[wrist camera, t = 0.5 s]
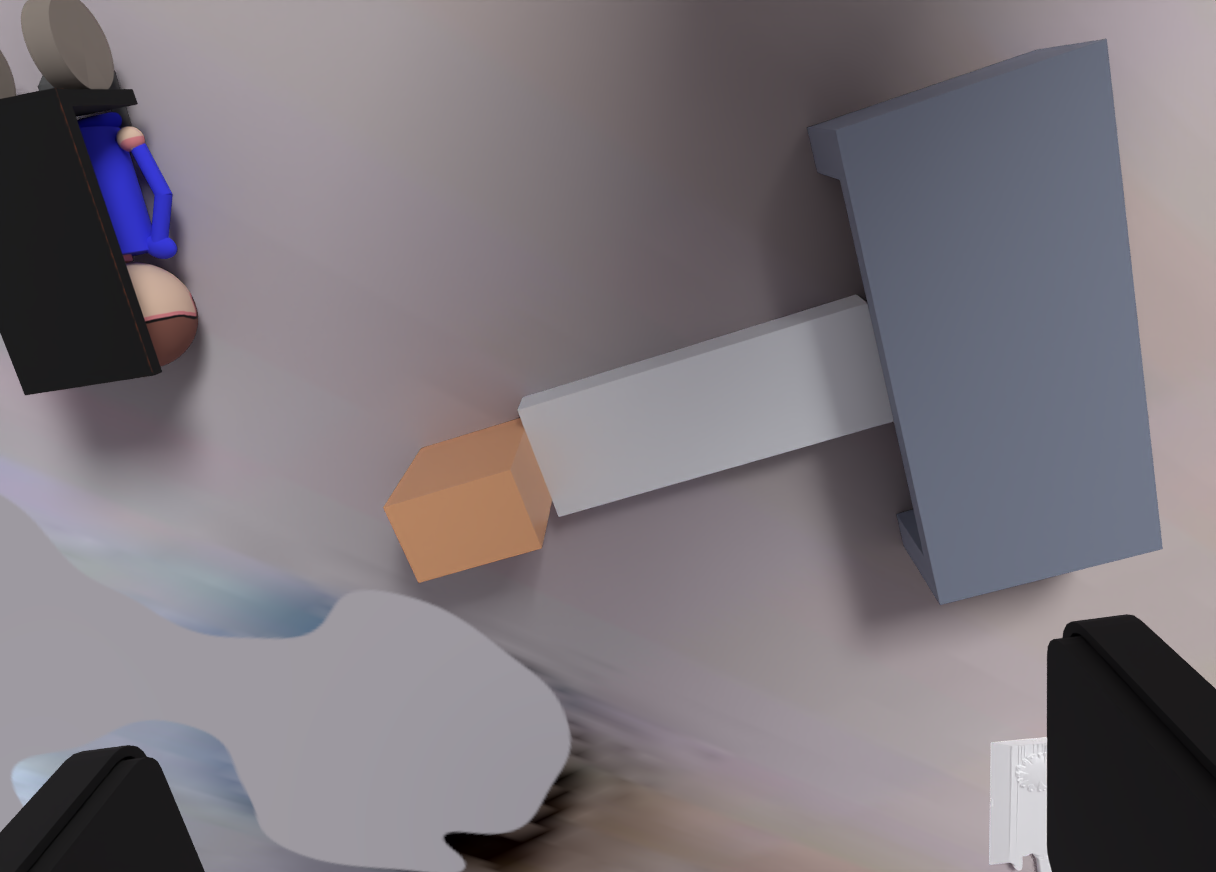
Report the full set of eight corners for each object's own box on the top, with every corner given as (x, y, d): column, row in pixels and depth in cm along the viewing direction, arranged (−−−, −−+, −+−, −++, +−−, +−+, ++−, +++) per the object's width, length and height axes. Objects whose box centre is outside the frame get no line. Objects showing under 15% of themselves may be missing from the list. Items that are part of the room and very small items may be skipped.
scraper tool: (413, 430, 43) (374, 487, 37) (856, 294, 40) (899, 329, 33) (457, 530, 45) (427, 600, 39) (881, 407, 42) (927, 462, 35)
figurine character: (12, 50, 39) (119, 371, 42) (-141, 10, 31) (5, 404, 35) (149, 18, 38) (245, 347, 42) (27, -30, 30) (157, 376, 34)
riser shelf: (806, 127, 37) (835, 130, 32) (1036, 49, 36) (1106, 38, 30) (903, 546, 45) (940, 605, 39) (1097, 495, 43) (1162, 548, 38)
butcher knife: (974, 920, 55) (981, 935, 54) (977, 736, 50) (984, 749, 49) (1055, 915, 54) (1063, 931, 53) (1067, 729, 49) (1075, 742, 48)
